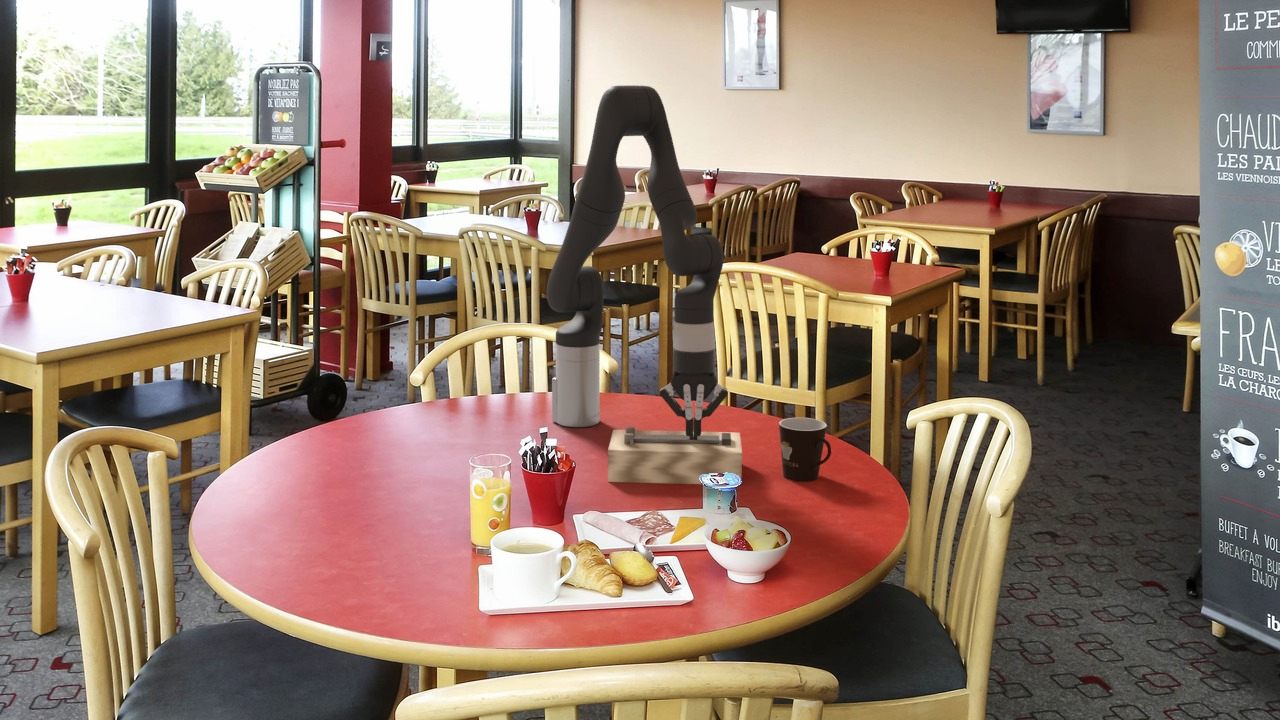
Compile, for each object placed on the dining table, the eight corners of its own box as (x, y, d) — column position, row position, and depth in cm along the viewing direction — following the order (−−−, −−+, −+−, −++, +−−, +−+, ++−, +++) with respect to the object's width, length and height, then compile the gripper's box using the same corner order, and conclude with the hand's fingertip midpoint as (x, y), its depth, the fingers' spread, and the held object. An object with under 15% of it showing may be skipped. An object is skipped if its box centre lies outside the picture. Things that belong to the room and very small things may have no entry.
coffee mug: (772, 469, 216) (774, 417, 214) (818, 468, 217) (820, 417, 215) (785, 489, 205) (787, 435, 203) (833, 489, 206) (835, 435, 203)
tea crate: (607, 481, 208) (608, 440, 207) (613, 459, 221) (613, 420, 219) (741, 485, 207) (742, 443, 205) (738, 462, 220) (739, 423, 218)
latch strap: (631, 441, 212) (631, 438, 211) (632, 437, 214) (632, 434, 214) (719, 443, 211) (719, 440, 211) (719, 438, 214) (719, 435, 214)
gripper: (656, 349, 205) (656, 443, 209) (731, 350, 204) (730, 444, 208) (658, 341, 212) (658, 432, 216) (730, 342, 212) (729, 433, 215)
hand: (693, 438), depth 212 cm, fingers closed
